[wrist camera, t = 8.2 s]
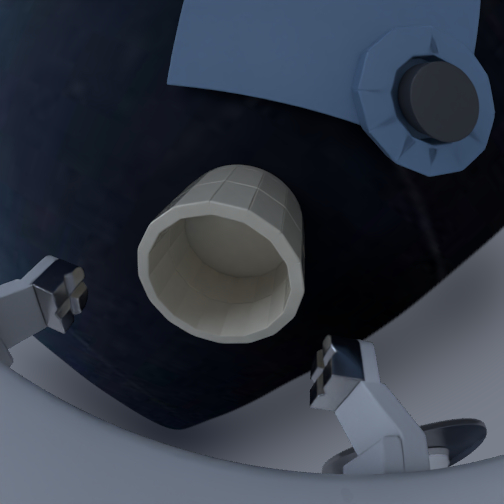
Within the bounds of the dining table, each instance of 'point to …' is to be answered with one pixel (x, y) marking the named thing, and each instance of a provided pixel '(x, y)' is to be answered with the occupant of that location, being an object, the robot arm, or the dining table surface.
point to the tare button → (439, 101)
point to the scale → (338, 63)
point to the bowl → (227, 256)
